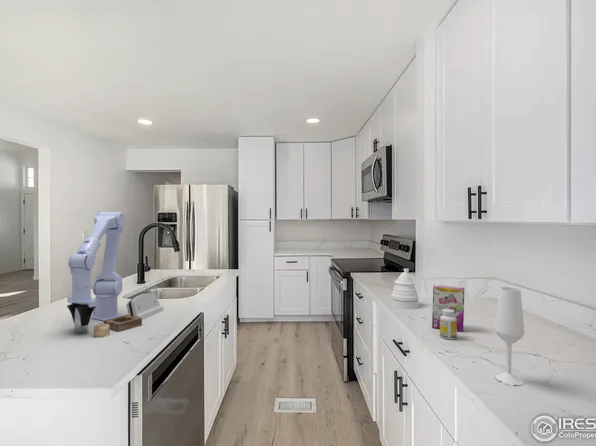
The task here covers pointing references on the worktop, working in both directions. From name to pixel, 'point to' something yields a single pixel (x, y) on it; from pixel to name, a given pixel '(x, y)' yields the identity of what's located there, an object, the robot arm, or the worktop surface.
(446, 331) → the supplement bottle
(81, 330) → the tall pin
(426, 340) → the worktop surface
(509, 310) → the champagne flute
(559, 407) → the worktop surface
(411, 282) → the honey pot
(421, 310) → the worktop surface
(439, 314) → the candy bar box
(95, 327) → the oak stub
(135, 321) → the socket block
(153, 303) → the hinge
